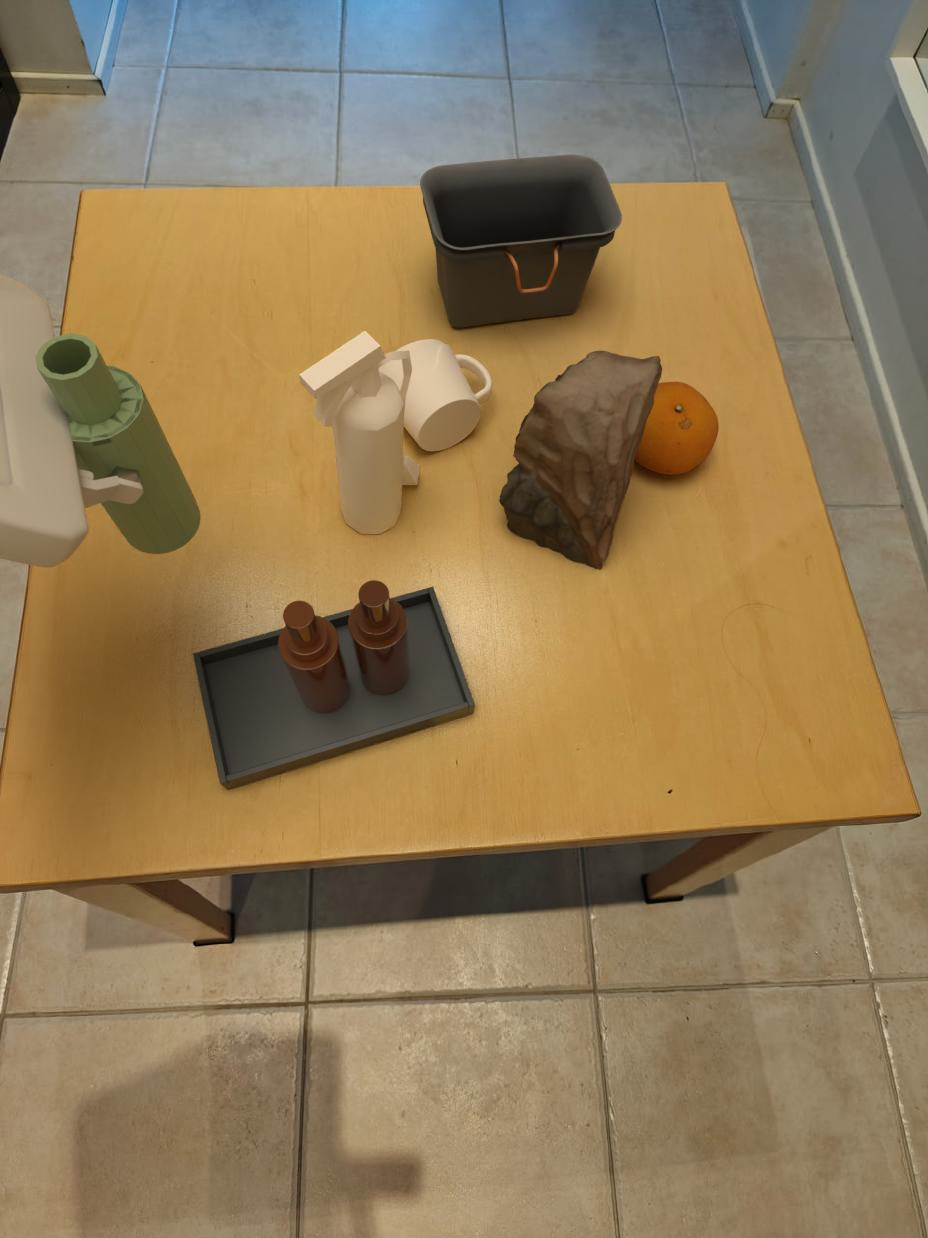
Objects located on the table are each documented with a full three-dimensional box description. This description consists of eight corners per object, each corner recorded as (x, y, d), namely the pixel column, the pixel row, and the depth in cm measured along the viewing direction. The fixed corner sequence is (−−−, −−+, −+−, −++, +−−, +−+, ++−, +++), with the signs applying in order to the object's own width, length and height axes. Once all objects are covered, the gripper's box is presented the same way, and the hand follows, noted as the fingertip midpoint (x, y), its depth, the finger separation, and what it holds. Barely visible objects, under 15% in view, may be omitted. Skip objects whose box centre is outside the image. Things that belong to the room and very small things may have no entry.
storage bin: (574, 250, 103) (595, 146, 90) (608, 339, 97) (636, 241, 84) (416, 270, 101) (414, 166, 88) (440, 362, 95) (443, 265, 82)
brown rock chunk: (491, 529, 85) (509, 409, 67) (536, 444, 90) (563, 311, 72) (599, 574, 84) (647, 463, 65) (638, 485, 89) (693, 359, 70)
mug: (411, 463, 88) (410, 418, 81) (375, 404, 92) (371, 355, 84) (503, 425, 91) (510, 378, 84) (465, 369, 94) (468, 319, 87)
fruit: (629, 494, 88) (648, 450, 81) (604, 419, 92) (619, 372, 85) (716, 480, 89) (742, 436, 82) (687, 407, 94) (709, 359, 86)
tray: (227, 790, 73) (220, 784, 70) (200, 663, 78) (192, 653, 75) (473, 713, 77) (475, 705, 74) (432, 598, 82) (433, 586, 79)
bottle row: (306, 720, 75) (273, 652, 59) (293, 673, 77) (259, 595, 61) (416, 687, 77) (413, 612, 61) (401, 642, 79) (395, 558, 63)
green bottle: (129, 563, 60) (18, 407, 43) (116, 500, 62) (6, 329, 46) (207, 542, 61) (128, 383, 45) (192, 481, 63) (111, 307, 47)
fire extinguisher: (442, 498, 87) (448, 330, 64) (353, 557, 83) (326, 401, 60) (405, 458, 89) (398, 281, 66) (317, 514, 85) (277, 347, 62)
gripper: (-87, 497, 37) (181, 546, 47) (-108, 209, 45) (126, 306, 55) (-128, 568, 40) (131, 599, 51) (-141, 287, 48) (86, 365, 59)
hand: (128, 444), depth 53 cm, fingers closed on green bottle, 6 cm apart
